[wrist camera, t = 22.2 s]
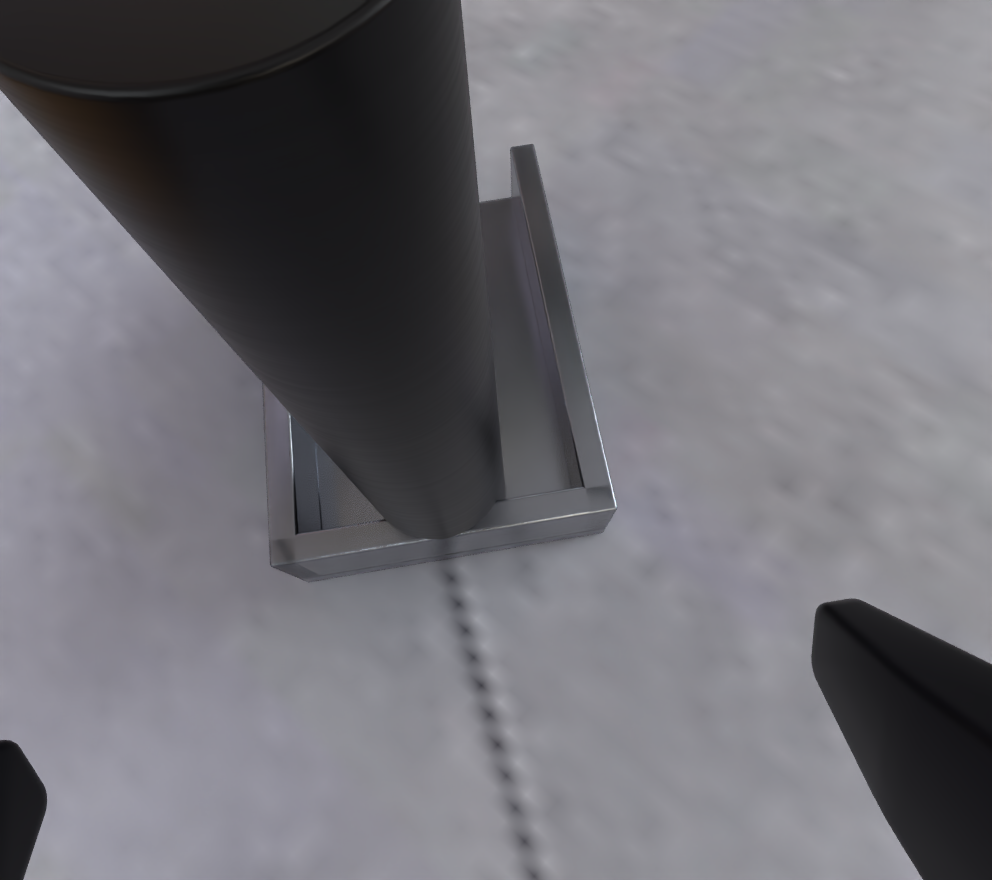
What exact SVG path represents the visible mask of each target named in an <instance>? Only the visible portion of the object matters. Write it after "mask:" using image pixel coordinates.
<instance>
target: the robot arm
mask: <svg viewBox="0 0 992 880" xmlns="http://www.w3.org/2000/svg"><path fill="white" fill-rule="evenodd" d="M811 658H812V668H813V672H814V675H815V678H816V680H817V682H818V685H819V687H820V689H821V691H822V693H823V695H824V697H825V699H826V701H827V703H828V705H829V707H830V709H831V711H832V713H833V715H834V717H835V719H836V721H837V723H838V725H839V727H840V729H841V731H842V733H843V735H844V737H845V739H846V741H847V743H848V745H849V747H850V749H851V751H852V753H853V755H854V757H855V759H856V761H857V764H858V766H859V768H860V770H861V772H862V774H863V776H864V778H865V780H866V782H867V784H868V786H869V788H870V790H871V792H872V794H873V796H874V798H875V799H876V801H877V803H878V805H879V807H880V809H881V811H882V813H883V815H884V816H885V818H886V820H887V821H888V823H889V825H890V826H891V828H892V830H893V832H894V833H895V835H896V837H897V838H898V840H899V842H900V843H901V845H902V846H903V848H904V850H905V851H906V853H907V854H908V856H909V858H910V859H911V861H912V862H913V864H914V866H915V867H916V869H917V871H918V872H919V874H920V875H921V877H922V879H923V880H992V664H990V663H988V662H986V661H984V660H982V659H980V658H978V657H976V656H974V655H972V654H970V653H968V652H966V651H963V650H961V649H959V648H957V647H955V646H953V645H951V644H949V643H947V642H945V641H943V640H941V639H939V638H937V637H935V636H933V635H931V634H929V633H927V632H925V631H923V630H921V629H919V628H917V627H915V626H913V625H911V624H909V623H907V622H904V621H902V620H900V619H898V618H896V617H894V616H892V615H890V614H888V613H886V612H884V611H882V610H880V609H878V608H876V607H874V606H872V605H870V604H868V603H866V602H864V601H861V600H859V599H844V600H838V601H832V602H826V603H823V604H821V605H819V607H818V608H817V610H816V614H815V622H814V633H813V645H812V656H811ZM46 806H47V793H46V789H45V787H44V784H43V783H42V781H41V780H40V778H39V777H38V775H37V773H36V772H35V770H34V769H33V767H32V766H31V764H30V762H29V761H28V759H27V758H26V756H25V755H24V753H23V751H22V750H21V748H20V747H19V746H18V745H17V744H16V743H14V742H12V741H10V740H0V880H23V879H24V875H25V872H26V869H27V866H28V863H29V860H30V857H31V854H32V851H33V848H34V845H35V842H36V839H37V836H38V833H39V830H40V827H41V824H42V821H43V818H44V815H45V811H46Z"/></svg>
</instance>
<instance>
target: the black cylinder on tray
mask: <svg viewBox="0 0 992 880" xmlns="http://www.w3.org/2000/svg"><path fill="white" fill-rule="evenodd" d="M0 90H1V91H2V92H3V93H4V94H5V96H6V97H7V98H8V99H9V100H10V101H11V102H12V103H13V105H14V106H15V107H16V108H17V109H18V110H19V111H20V112H21V113H22V115H23V116H24V117H25V118H26V119H27V120H28V121H29V122H30V124H31V125H32V126H33V127H34V128H35V129H36V130H37V131H38V132H39V134H40V135H41V136H42V137H43V138H44V139H45V140H46V141H47V142H48V144H49V145H50V146H51V147H52V148H53V149H54V150H55V151H56V153H57V154H58V155H59V156H60V157H61V158H62V159H63V160H64V161H65V163H66V164H67V165H68V166H69V167H70V168H71V169H72V170H73V172H74V173H75V174H76V175H77V176H78V177H79V178H80V179H81V180H82V182H83V183H84V184H85V185H86V186H87V187H88V188H89V189H90V190H91V192H92V193H93V194H94V195H95V196H96V197H97V198H98V199H99V201H100V202H101V203H102V204H103V205H104V206H105V207H106V208H107V209H108V211H109V212H110V213H111V214H112V215H113V216H114V217H115V218H116V220H117V221H118V222H119V223H120V224H121V225H122V226H123V227H124V228H125V230H126V231H127V232H128V233H129V234H130V235H131V236H132V237H133V238H134V240H135V241H136V242H137V243H138V244H139V245H140V246H141V247H142V249H143V250H144V251H145V252H146V253H147V254H148V255H149V256H150V257H151V259H152V260H153V261H154V262H155V263H156V264H157V265H158V266H159V268H160V269H161V270H162V271H163V272H164V273H165V274H166V275H167V276H168V278H169V279H170V280H171V281H172V282H173V283H174V284H175V285H176V286H177V288H178V289H179V290H180V291H181V292H182V293H183V294H184V295H185V297H186V298H187V299H188V300H189V301H190V302H191V303H192V304H193V305H194V307H195V308H196V309H197V310H198V311H199V312H200V313H201V314H202V316H203V317H204V318H205V319H206V320H207V321H208V322H209V323H210V324H211V326H212V327H213V328H214V329H215V330H216V331H217V332H218V333H219V334H220V336H221V337H222V338H223V339H224V340H225V341H226V342H227V343H228V345H229V346H230V347H231V348H232V349H233V350H234V351H235V352H236V353H237V355H238V356H239V357H240V358H241V359H242V360H243V361H244V362H245V364H246V365H247V366H248V367H249V368H250V369H251V370H252V371H253V372H254V374H255V375H256V376H257V377H258V378H259V379H260V380H261V381H262V388H263V411H264V433H265V456H266V479H267V502H268V525H269V548H270V565H271V567H273V568H276V569H278V570H280V571H283V572H285V573H287V574H290V575H292V576H295V577H297V578H300V579H301V580H304V581H306V582H313V581H319V580H325V579H331V578H337V577H343V576H349V575H355V574H361V573H367V572H373V571H379V570H385V569H391V568H397V567H403V566H409V565H415V564H420V563H426V562H432V561H438V560H444V559H450V558H456V557H462V556H468V555H474V554H480V553H486V552H492V551H498V550H504V549H510V548H516V547H522V546H528V545H533V544H539V543H545V542H551V541H557V540H563V539H569V538H575V537H581V536H587V535H593V534H599V533H603V532H604V530H605V528H606V527H607V525H608V523H609V522H610V520H611V518H612V517H613V515H614V513H615V511H616V510H617V504H616V500H615V495H614V491H613V486H612V482H611V478H610V473H609V469H608V465H607V460H606V456H605V452H604V447H603V443H602V439H601V434H600V430H599V426H598V421H597V417H596V413H595V408H594V404H593V400H592V395H591V391H590V387H589V382H588V378H587V374H586V369H585V365H584V360H583V356H582V352H581V347H580V343H579V339H578V334H577V330H576V326H575V321H574V317H573V313H572V308H571V304H570V300H569V295H568V291H567V287H566V282H565V278H564V274H563V269H562V265H561V261H560V256H559V252H558V248H557V243H556V239H555V234H554V230H553V226H552V221H551V217H550V213H549V208H548V204H547V200H546V195H545V191H544V187H543V182H542V178H541V174H540V169H539V165H538V161H537V156H536V152H535V148H534V145H533V144H528V145H522V146H516V147H511V149H510V161H511V197H510V198H504V199H497V200H491V201H485V202H479V195H478V184H477V173H476V162H475V151H474V140H473V129H472V118H471V107H470V96H469V85H468V74H467V63H466V52H465V41H464V30H463V19H462V9H461V0H0Z"/></svg>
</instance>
